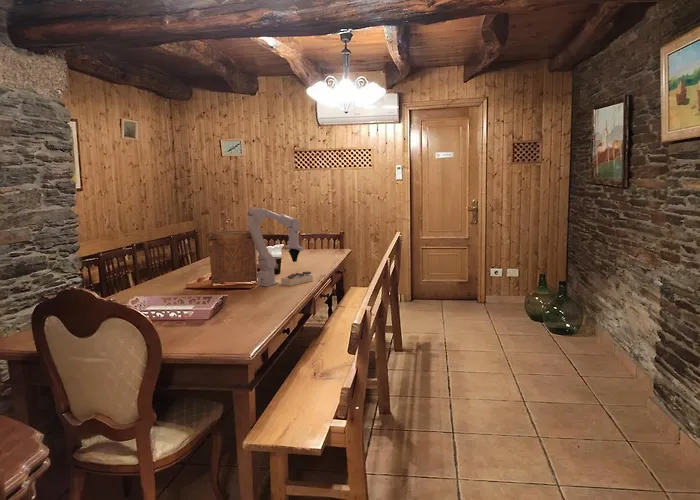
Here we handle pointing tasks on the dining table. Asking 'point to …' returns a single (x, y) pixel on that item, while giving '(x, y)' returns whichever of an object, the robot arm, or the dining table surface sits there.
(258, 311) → the dining table surface
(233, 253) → the carved wooden box
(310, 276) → the power strip
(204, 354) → the dining table surface
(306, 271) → the rocker outer
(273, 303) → the dining table surface
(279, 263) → the coffee mug
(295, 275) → the rocker inner
